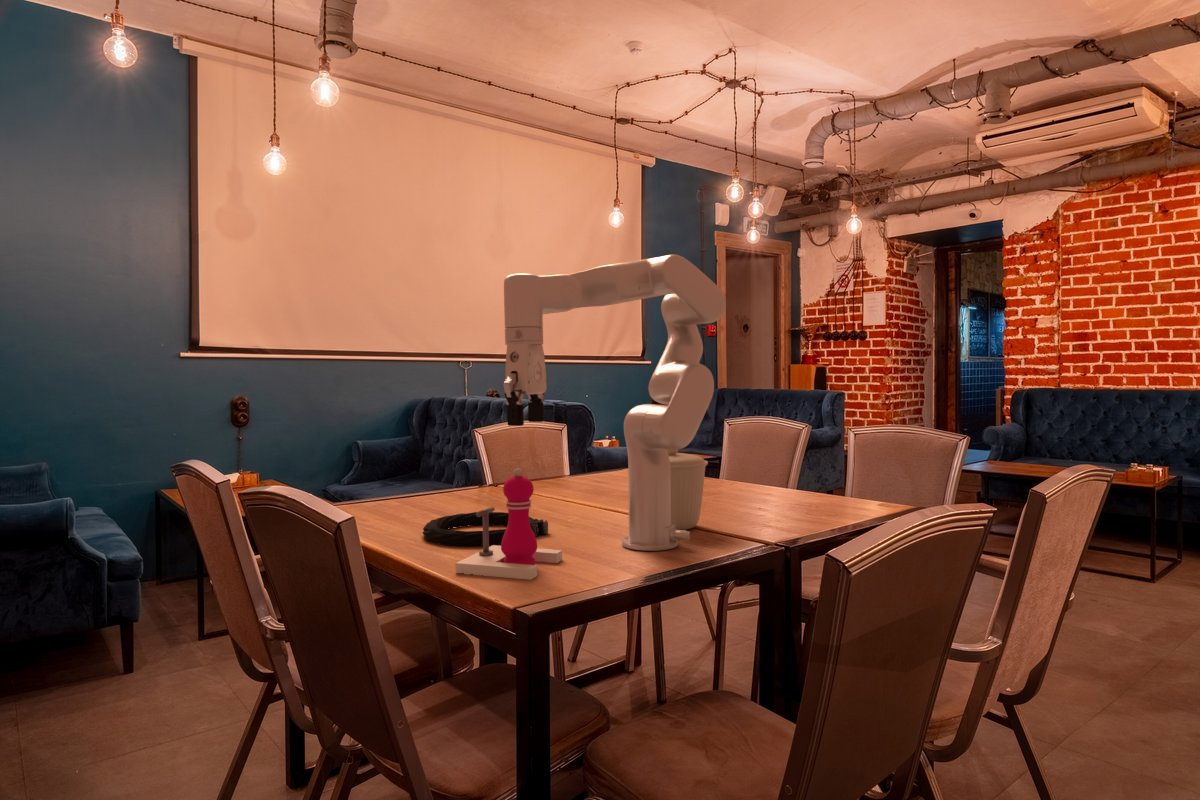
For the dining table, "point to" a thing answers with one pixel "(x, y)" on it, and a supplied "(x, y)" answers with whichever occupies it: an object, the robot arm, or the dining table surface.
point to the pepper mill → (518, 521)
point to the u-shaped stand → (502, 558)
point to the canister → (686, 488)
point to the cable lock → (439, 534)
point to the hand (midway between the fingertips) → (526, 423)
